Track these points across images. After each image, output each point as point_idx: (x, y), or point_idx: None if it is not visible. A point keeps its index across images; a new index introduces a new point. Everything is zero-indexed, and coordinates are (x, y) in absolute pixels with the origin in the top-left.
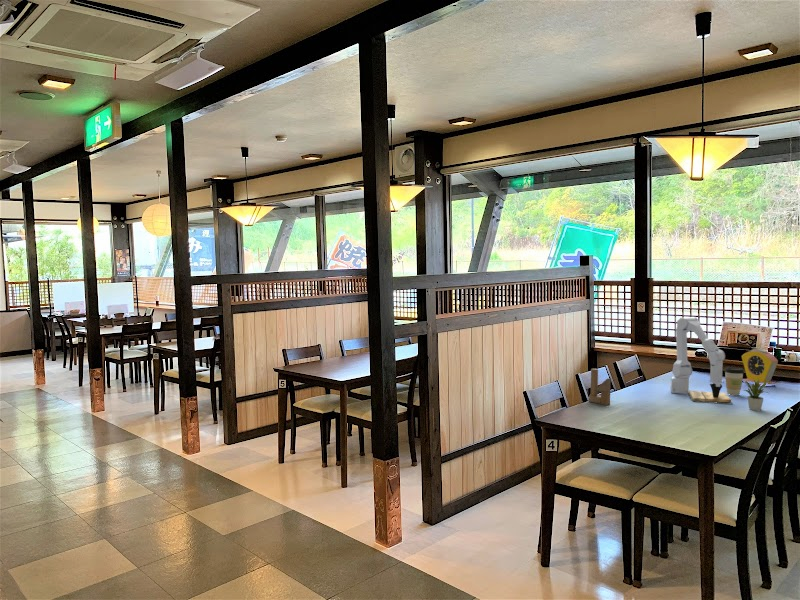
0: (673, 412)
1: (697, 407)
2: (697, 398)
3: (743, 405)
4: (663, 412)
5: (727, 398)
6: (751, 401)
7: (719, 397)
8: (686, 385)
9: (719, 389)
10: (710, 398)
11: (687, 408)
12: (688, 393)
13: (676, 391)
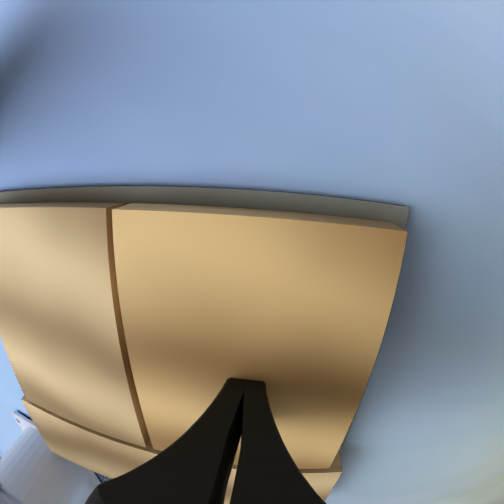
0: (499, 485)
1: (470, 459)
2: (323, 498)
3: (433, 88)
4: (488, 498)
5: (311, 265)
6: None
7: (249, 362)
8: (50, 487)
9: (304, 490)
10: (323, 445)
11: (472, 479)
12: None
13: (90, 485)
